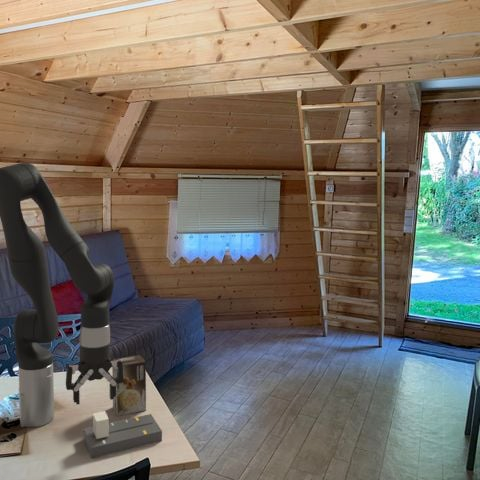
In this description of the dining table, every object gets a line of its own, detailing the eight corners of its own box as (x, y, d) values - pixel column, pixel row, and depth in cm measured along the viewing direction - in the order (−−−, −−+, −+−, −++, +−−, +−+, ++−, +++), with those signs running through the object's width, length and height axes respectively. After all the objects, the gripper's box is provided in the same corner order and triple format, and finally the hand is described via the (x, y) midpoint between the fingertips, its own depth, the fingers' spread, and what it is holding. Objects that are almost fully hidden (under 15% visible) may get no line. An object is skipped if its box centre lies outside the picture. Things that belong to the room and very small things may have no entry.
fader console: (91, 458, 120) (91, 447, 120) (84, 438, 129) (84, 428, 129) (161, 440, 129) (162, 430, 129) (150, 423, 138) (150, 413, 138)
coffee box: (140, 401, 151) (141, 354, 149) (146, 410, 145) (146, 361, 143) (112, 407, 147) (111, 358, 144) (116, 416, 141) (116, 366, 139)
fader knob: (96, 439, 123) (96, 421, 123) (93, 430, 127) (93, 413, 126) (108, 436, 125) (108, 418, 124) (105, 428, 129) (105, 411, 128)
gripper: (66, 349, 114) (67, 411, 116) (125, 343, 120) (124, 402, 122) (64, 339, 121) (65, 398, 123) (120, 334, 127) (119, 390, 129)
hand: (94, 400), depth 123 cm, fingers open, 8 cm apart
